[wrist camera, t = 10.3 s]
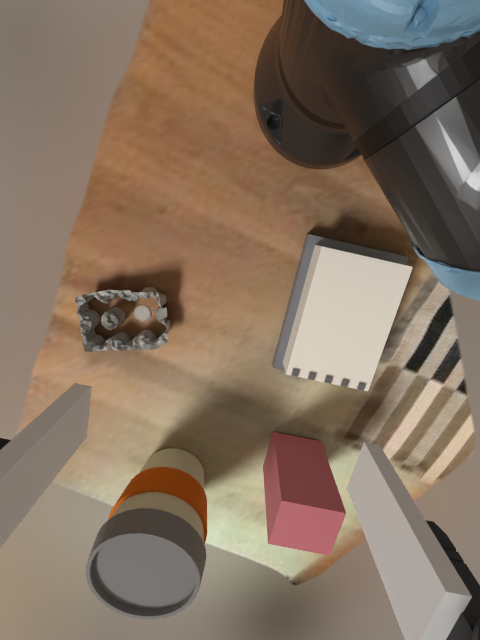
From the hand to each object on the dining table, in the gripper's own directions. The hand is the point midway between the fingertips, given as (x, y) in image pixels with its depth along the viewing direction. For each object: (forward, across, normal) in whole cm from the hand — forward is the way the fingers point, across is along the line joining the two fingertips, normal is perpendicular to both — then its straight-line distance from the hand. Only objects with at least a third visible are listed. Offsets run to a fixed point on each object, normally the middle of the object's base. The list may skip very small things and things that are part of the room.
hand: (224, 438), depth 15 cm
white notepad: (+27, +12, +2) cm, 29 cm away
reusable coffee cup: (+27, -4, -27) cm, 38 cm away
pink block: (+26, +12, -20) cm, 35 cm away
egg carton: (+27, -14, -4) cm, 31 cm away
